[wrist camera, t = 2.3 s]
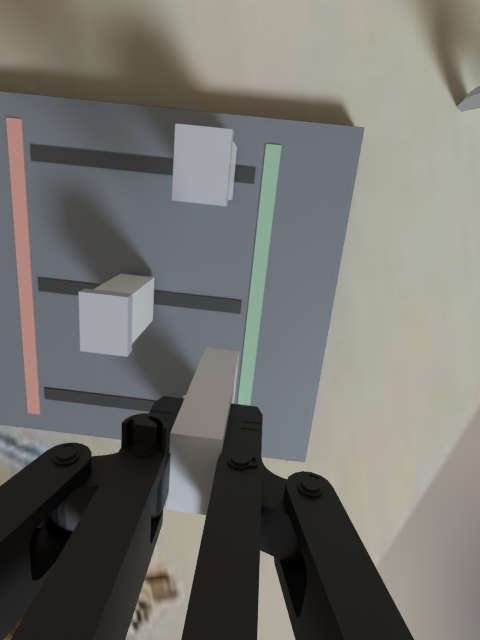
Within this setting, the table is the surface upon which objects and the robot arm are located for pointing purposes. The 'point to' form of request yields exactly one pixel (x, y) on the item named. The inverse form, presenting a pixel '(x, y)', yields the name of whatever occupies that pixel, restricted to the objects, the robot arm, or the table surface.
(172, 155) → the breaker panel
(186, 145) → the block
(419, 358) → the table surface
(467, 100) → the pliers
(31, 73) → the table surface
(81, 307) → the block
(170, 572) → the table surface
